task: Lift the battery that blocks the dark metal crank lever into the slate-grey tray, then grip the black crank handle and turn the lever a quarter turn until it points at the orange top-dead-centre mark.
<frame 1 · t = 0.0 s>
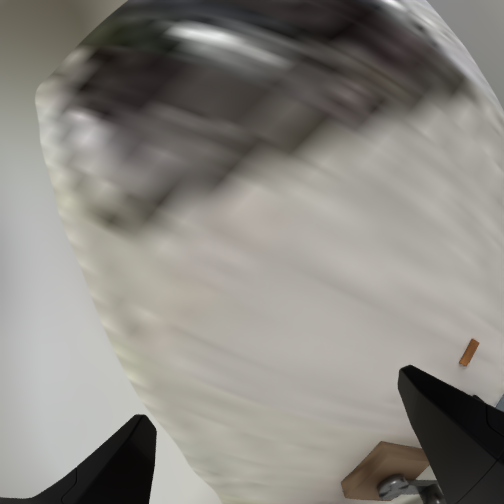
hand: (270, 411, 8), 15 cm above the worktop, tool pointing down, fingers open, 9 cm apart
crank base: (383, 466, 24), on the worktop
crank: (431, 498, 17), point 6 cm above the worktop, hinge at -90.0°
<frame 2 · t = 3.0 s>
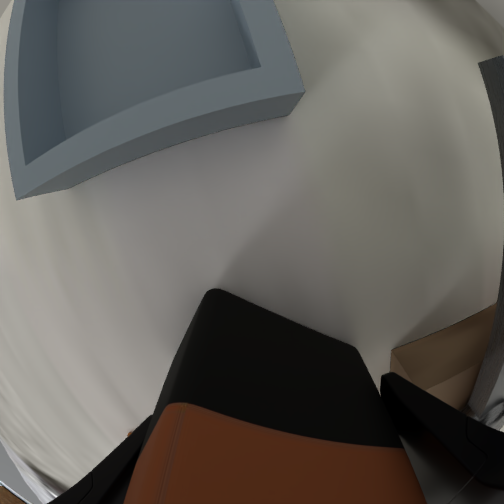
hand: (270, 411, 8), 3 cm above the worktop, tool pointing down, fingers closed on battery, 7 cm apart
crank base: (446, 377, 12), on the worktop
bread: (24, 501, 45), on the worktop
battery: (266, 353, 11), on the worktop, touching gripper
tray: (136, 19, 7), on the worktop
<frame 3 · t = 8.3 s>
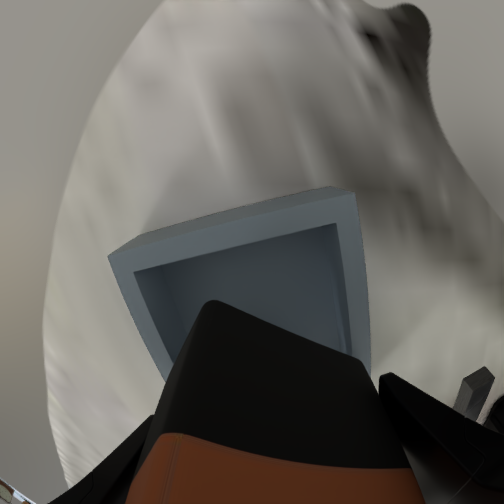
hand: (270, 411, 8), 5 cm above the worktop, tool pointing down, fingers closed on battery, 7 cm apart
crank: (458, 472, 10), point 6 cm above the worktop, hinge at -90.0°
battery: (267, 366, 10), point 3 cm above the worktop, touching gripper, tray
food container: (7, 485, 44), on the worktop
tray: (262, 328, 13), on the worktop
when the fingers open (5 cm above the worktop, at t = 9.2 s): battery stays where it is, resting on tray.
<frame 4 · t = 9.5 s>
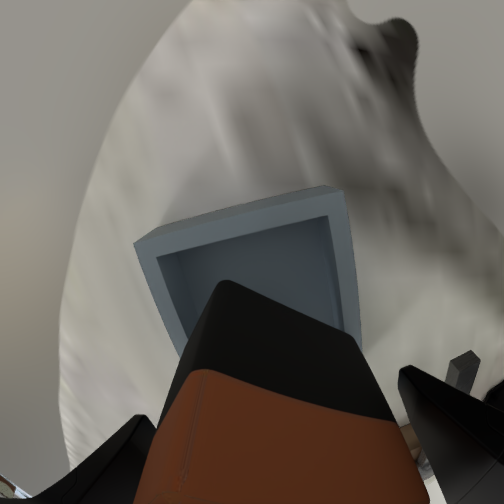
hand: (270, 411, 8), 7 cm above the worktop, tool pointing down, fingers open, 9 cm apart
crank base: (411, 440, 20), on the worktop
crank: (451, 455, 12), point 6 cm above the worktop, hinge at -90.0°
battery: (270, 341, 12), point 3 cm above the worktop, touching tray
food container: (9, 482, 46), on the worktop
tray: (265, 310, 15), on the worktop
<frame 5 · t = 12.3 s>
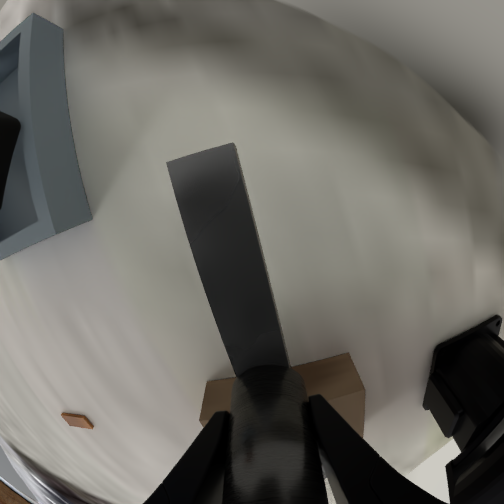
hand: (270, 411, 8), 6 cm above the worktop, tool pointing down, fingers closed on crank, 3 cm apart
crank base: (289, 413, 15), on the worktop
crank: (273, 438, 7), point 6 cm above the worktop, hinge at -90.0°, touching gripper
bread: (18, 494, 49), on the worktop
tray: (17, 146, 10), on the worktop
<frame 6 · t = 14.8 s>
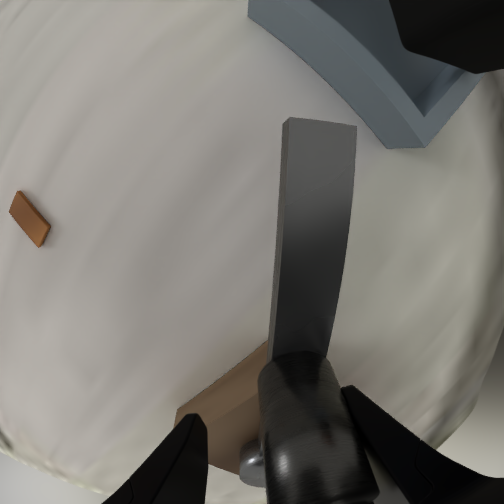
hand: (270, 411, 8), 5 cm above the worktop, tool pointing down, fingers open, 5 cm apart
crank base: (268, 409, 15), on the worktop
crank: (303, 428, 7), point 6 cm above the worktop, hinge at -48.6°, touching gripper
battery: (419, 2, 6), point 3 cm above the worktop, touching tray
tray: (391, 21, 9), on the worktop
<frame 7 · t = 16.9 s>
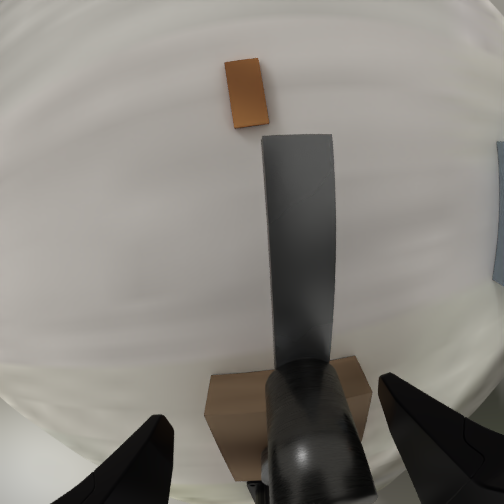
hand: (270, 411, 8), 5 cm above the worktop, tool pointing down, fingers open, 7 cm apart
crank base: (288, 412, 15), on the worktop
crank: (309, 433, 7), point 6 cm above the worktop, hinge at -4.0°
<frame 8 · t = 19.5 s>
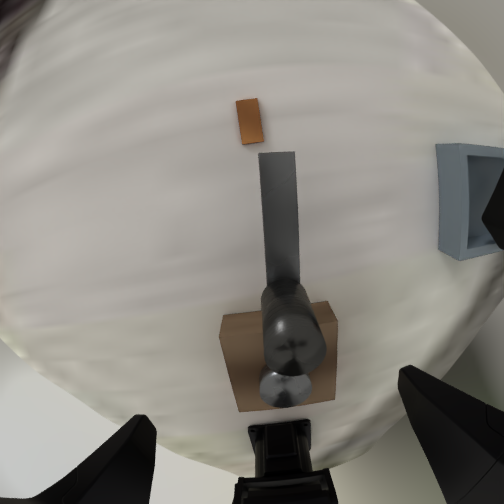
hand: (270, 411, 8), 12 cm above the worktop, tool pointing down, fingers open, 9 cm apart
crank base: (280, 350, 22), on the worktop
crank: (287, 323, 14), point 6 cm above the worktop, hinge at -4.0°
battery: (502, 201, 15), point 3 cm above the worktop, touching tray
tray: (483, 195, 18), on the worktop
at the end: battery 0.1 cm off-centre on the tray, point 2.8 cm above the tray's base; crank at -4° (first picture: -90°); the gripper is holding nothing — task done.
